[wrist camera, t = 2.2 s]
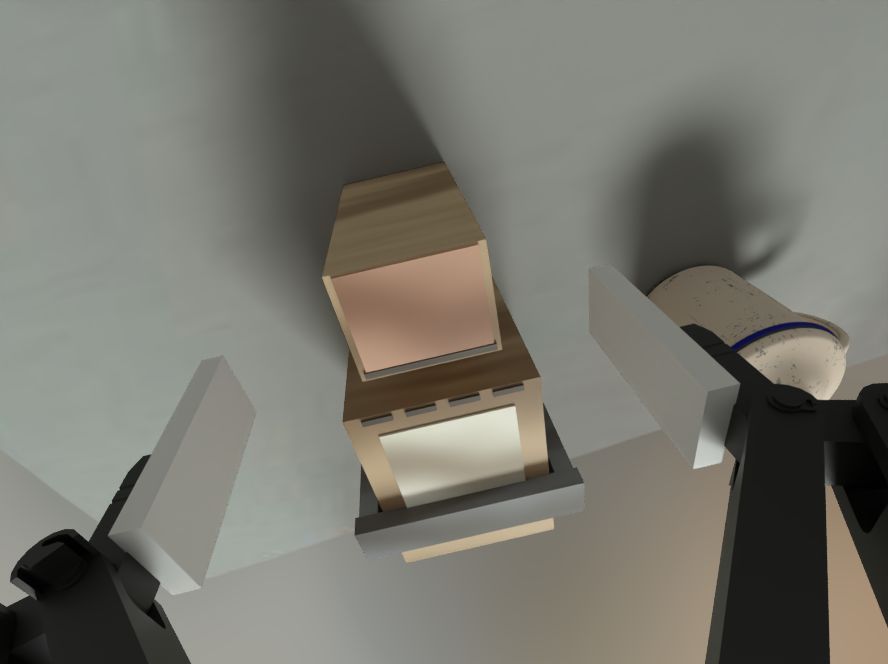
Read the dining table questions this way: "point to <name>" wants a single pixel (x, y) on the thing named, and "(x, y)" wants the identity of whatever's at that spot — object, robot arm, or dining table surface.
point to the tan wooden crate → (457, 453)
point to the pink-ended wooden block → (410, 274)
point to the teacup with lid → (758, 328)
